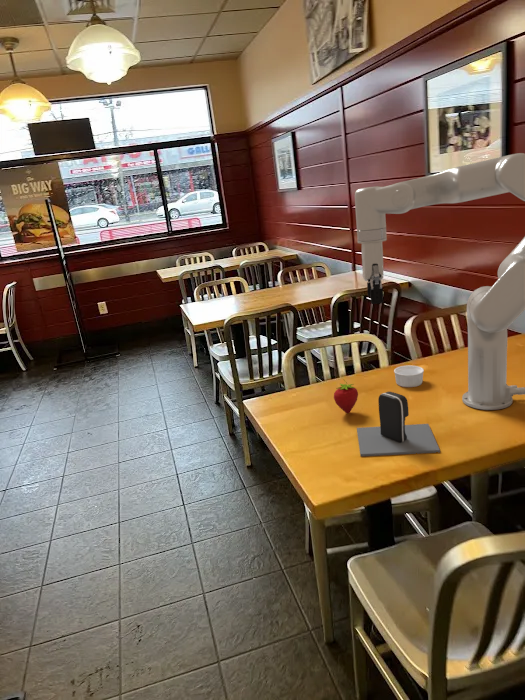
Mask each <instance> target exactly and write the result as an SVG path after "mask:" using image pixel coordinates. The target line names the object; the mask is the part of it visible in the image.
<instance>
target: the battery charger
mask: <svg viewBox="0 0 525 700" xmlns="http://www.w3.org/2000/svg"><path fill="white" fill-rule="evenodd" d="M408 402H409V401H408V399H407V397H406V396H405V395H403V394H399V393H397V392H393V391H386V392H383V393H380V394H379V396H378V416H379V427H380V429H381V435H383V436H385V437H387V438H389V439H392V440H394V441H397V442H403V441H405V440H406V439H407V435H406V433H405V425H406V424H405V423H406V418H407V417H409V404H408Z"/></svg>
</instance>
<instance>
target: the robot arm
mask: <svg viewBox="0 0 525 700" xmlns="http://www.w3.org/2000/svg"><path fill="white" fill-rule="evenodd" d="M506 193H511V194H512V195H514V196H515V197H517V198H518V199H520V200H521V201H523V202H525V153H523V152H519V153H512V154H508V155H503V156H500V157H495V158H490V159H486V160H481V161H478V162H473V163H468V164H465V165H460V166H456V167H452V168H449V169H446V170H444V171H442V172H438V173H435V174H430V175H426V176H423V177H418V178H414V179H410V180H405V181H400V182H396V183H393V184H390V185H386V186H377V185H375V186H368V187H362V188H358V189H357V190H356V191H355V193H354V206H355V207H354V208H355V221H356V238H357V244H361V266H362V268H361V269H362V277H363V280H364V281H365V282H366V286H367V297H369V298H370V304H371V305H377V304H384V291H383V290H384V288H383V284H382V282H383V281H382V280H384V250H383V249H384V248H383V242H386V241H387V240H388V239H387V223H386V222H387V220H386V214H387V215H391V214H393V215H394V214H395V215H402V214H405V213H408V212H409V211H410V210H414V209H419V208H422V207H428V206H434V205H440V204H458V203H464V202H468V201H473V200H479V199H484V198H487V197H492V196H493V197H494V196H497V195H501V194H506ZM497 278H498V279H497V280H496V281H495V282H494V284H493V285H492V286H489V285H486V286H484V285H483V286H480V287H479V288H476V289H474V290H473V291H472V293H471V294H470V295H469V297H468V298H467V303H466V319H467V320H466V321H467V372H468V373H467V383H468V386H467V388H468V389H467V391H466V392H464V393H463V394H462V397H461V398H462V403H463V404H465V405H466V406H468V407H470V408H473V409H476V410H484V411H497V410H501V409H506V408H509V407H510V406H511V405H512V404H513V401H514V400H513V397H514V395H517V396H518V395H519V396H521V395H523V396H524V395H525V387H524V386H522V387H518V385H516V384H515V385H514V384H512V385H509V384H507V371H508V370H507V369H508V367H507V365H508V364H507V363H508V361H507V359H508V358H507V357H508V327H509V326H511V325H512V324H513V323H514V322H515V321H516V320H517V319H518V317H520V315H522V314H523V312H524V311H525V236H524V237H523V238H522V239H521V241H520V242H519V243H518V244H516V246H515V248H514V249H512V250H511V252H510V253H509V254H508V255H507V256H506V257H505V258H504V259H503V260H502V262H501V263H500V264H499V267H498V269H497Z"/></svg>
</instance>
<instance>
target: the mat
mask: <svg viewBox="0 0 525 700" xmlns="http://www.w3.org/2000/svg"><path fill="white" fill-rule="evenodd" d="M405 433H406V435H407V439H406V440H405V441H403V442H397V441H394V440H392V439H389V438H387V437H385V436H383V435H381V429H380V426H369V427H368V426H367V427H356V434H357V439H358V440H357V441H358V448H359V454H360V457H375V456H376V457H378V456H392V455H394V456H395V455H397V456H398V455H412V454H413V455H414V454H415V455H416V453H417V455H418V454H432V453H433V454H434V453H436V452H438V453H441V450H440V447H439V444H438V443H437V440H436V438H435V436H434V434H433V431H432V429H431V427H430V424H429V423H419V424H418V423H416V424H405ZM436 454H437V453H436Z"/></svg>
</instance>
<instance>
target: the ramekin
mask: <svg viewBox="0 0 525 700" xmlns="http://www.w3.org/2000/svg"><path fill="white" fill-rule="evenodd" d="M424 372H425V371H424V367H421V366H418V365H411V364H409V365H401V366H397V367H396V368H394V370H393V373H394V376H395V377H394V378H395V383H396V385H398V386H400V387H403V388H413V387H414V388H415V387H418V386H421V385H422V384H423V381H424V380H423V377H424Z"/></svg>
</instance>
